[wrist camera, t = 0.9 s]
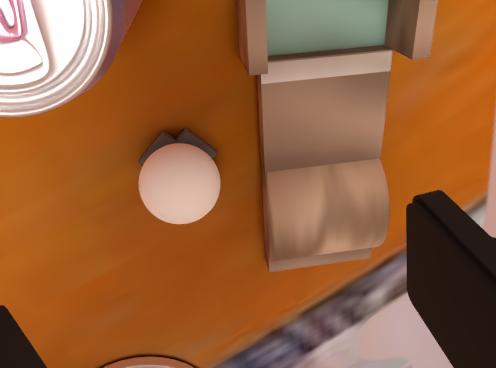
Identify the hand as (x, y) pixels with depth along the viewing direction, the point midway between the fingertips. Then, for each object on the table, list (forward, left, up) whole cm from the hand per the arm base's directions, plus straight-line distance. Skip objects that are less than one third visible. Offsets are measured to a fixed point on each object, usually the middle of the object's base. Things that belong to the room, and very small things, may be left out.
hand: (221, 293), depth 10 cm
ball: (-6, 0, -19) cm, 20 cm away
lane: (+1, -8, -23) cm, 24 cm away
